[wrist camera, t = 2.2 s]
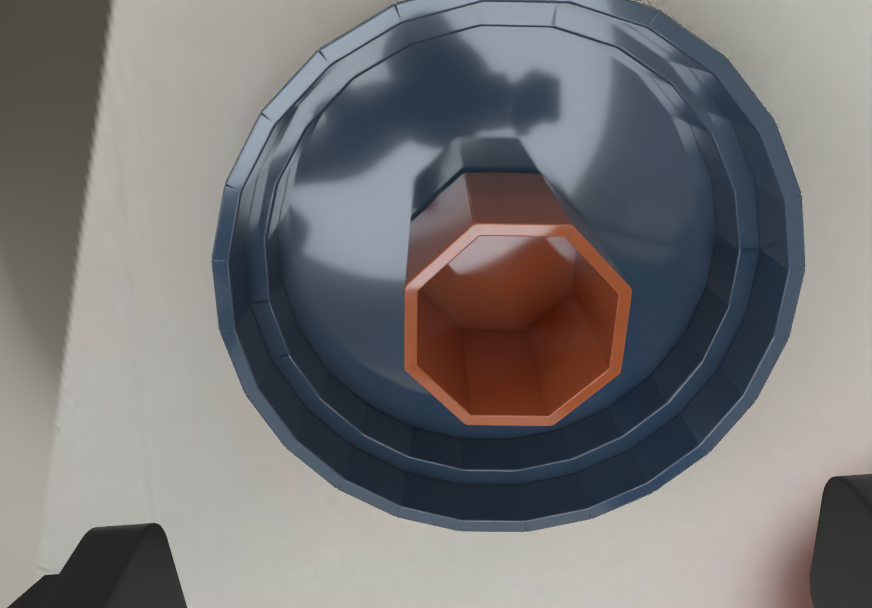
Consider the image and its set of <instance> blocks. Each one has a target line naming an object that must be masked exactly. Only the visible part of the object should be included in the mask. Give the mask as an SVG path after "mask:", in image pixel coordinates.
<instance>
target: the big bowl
mask: <svg viewBox="0 0 872 608" xmlns="http://www.w3.org/2000/svg"><path fill="white" fill-rule="evenodd" d="M465 172H476V173H489V172H510V173H533V174H541V175H543V177H544V178H545V179H546V180H547V181H548V182H549V183H550V184H551V185H552V186H553V188H554V189H555V190H556V191H557V192H558V193H559V194H560V195H561V196H562V197H563V198H564V200H565V201H566V202H567V203H568V204H569V205H570V206H571V207H572V208H573V209H574V210H575V212H576V213H577V214H578V215H579V216H580V217H581V218H582V219H583V220H584V221H585V223H586V224H587V225H588V226H589V227H590V229H591V230H592V232H593V233H594V235H595V236H596V238H597V239H598V240H599V242H600V243H601V245H602V246H603V248H604V249H605V251H606V252H607V254H608V255H609V256H610V258H611V259H612V261H613V262H614V264H615V265H616V267H617V268H618V270H619V271H620V272H621V274H622V275H623V277H624V278H625V280H626V281H627V283H628V284H629V286H630V287H631V289H632V296H631V303H630V310H629V318H628V325H627V332H626V340H625V347H624V354H623V362H622V369H621V372H620V374H619V375H618V376H616V377H615V378H614V379H612V380H611V381H610V382H609V383H607V384H606V385H605V386H603V387H602V388H601V389H600V390H598V391H597V392H596V393H594V394H593V395H592V396H591V397H589V398H588V399H587V400H585V401H584V402H583V403H582V404H580V405H579V406H578V407H576V408H575V409H574V410H573V411H571V412H570V413H569V414H567V415H566V416H565V417H564V418H562V419H561V420H560V421H558V422H557V423H556V424H555V425H552V426H503V425H466V424H464V423H463V422H462V421H461V420H460V419H459V418H458V417H456V416H455V415H454V414H453V413H452V412H451V411H450V410H449V409H447V408H446V407H445V406H444V405H443V404H442V403H441V402H440V401H439V400H437V399H436V398H435V397H434V396H433V395H432V394H431V393H430V392H429V391H427V390H426V389H425V388H424V387H423V386H422V385H421V384H420V383H419V382H417V381H416V380H415V379H414V378H413V377H412V376H411V375H410V374H409V373H407V372H406V371H405V369H404V286H405V275H406V263H407V252H408V240H409V229H410V223H411V222H412V221H413V220H414V219H415V218H416V217H417V216H418V215H420V214H421V213H422V212H423V211H424V210H425V209H426V208H427V207H428V206H429V205H430V204H431V203H432V202H433V201H434V200H435V199H436V198H437V196H439V195H440V194H441V193H442V192H443V191H445V190H446V189H447V188H448V187H449V186H450V185H451V184H452V183H454V182H455V181H456V180H457V179H458V178H459V177H460V176H461V175H462V174H463V173H465ZM800 194H801V191H800V188H799V186H798V183H797V180H796V177H795V174H794V172H793V169H792V166H791V163H790V160H789V158H788V155H787V152H786V149H785V146H784V144H783V141H782V138H781V135H780V132H779V130H778V127H777V124H776V123H775V121H774V119H773V118H772V116H771V115H770V114H769V112H768V111H767V110H766V108H765V107H764V106H763V104H762V103H761V102H760V100H759V99H758V98H757V96H756V95H755V94H754V93H753V91H752V90H751V89H750V87H749V86H748V85H747V83H746V82H745V81H744V79H743V78H742V77H741V75H740V74H739V73H738V71H737V70H736V69H735V68H734V66H733V65H732V64H731V62H730V61H729V60H728V59H726V57H725V56H724V55H723V54H721V53H720V52H718V51H717V50H716V49H714V48H713V47H711V46H710V45H708V44H707V43H706V42H704V41H703V40H701V39H700V38H698V37H697V36H696V35H694V34H693V33H691V32H690V31H689V30H687V29H686V28H684V27H683V26H681V25H680V24H679V23H677V22H676V21H674V20H673V19H672V18H670V17H669V16H667V15H666V14H664V13H663V12H662V11H660V10H657V9H656V8H654V7H651V6H648V5H645V4H642V3H638V2H635V1H632V0H404V1H401V2H397V3H396V4H392V5H391V6H389V7H387V8H386V9H384V10H382V11H381V12H379V13H377V14H376V15H374V16H372V17H371V18H369V19H367V20H366V21H364V22H362V23H361V24H359V25H358V26H356V27H354V28H353V29H351V30H349V31H348V32H346V33H344V34H343V35H341V36H339V37H338V38H336V39H334V40H333V41H331V42H329V43H328V44H326V45H324V46H323V47H321V48H320V49H319V50H317V51H316V52H315V53H314V54H313V55H312V56H311V58H310V59H309V60H308V61H307V62H306V63H305V64H304V65H303V66H302V67H301V68H300V69H299V71H298V72H297V73H296V74H295V75H294V76H293V77H292V78H291V79H290V80H289V81H288V83H287V84H286V85H285V86H284V87H283V88H282V89H281V90H280V91H279V92H278V93H277V94H276V96H275V97H274V98H273V99H272V100H271V101H270V102H269V103H268V104H267V105H266V106H265V107H264V109H263V110H262V111H261V113H260V114H259V116H258V118H257V120H256V122H255V124H254V126H253V128H252V130H251V132H250V134H249V136H248V138H247V140H246V142H245V144H244V146H243V148H242V150H241V152H240V154H239V156H238V158H237V160H236V162H235V164H234V166H233V168H232V170H231V172H230V174H229V176H228V178H227V180H226V183H225V186H224V190H223V196H222V201H221V207H220V213H219V218H218V224H217V230H216V235H215V241H214V247H213V252H212V260H211V261H212V270H213V279H214V288H215V298H216V307H217V316H218V325H219V330H220V333H221V336H222V338H223V341H224V343H225V346H226V348H227V351H228V353H229V356H230V358H231V361H232V363H233V366H234V368H235V370H236V373H237V375H238V378H239V380H240V383H241V385H242V388H243V390H244V393H246V396H247V397H248V399H249V400H250V401H251V403H252V404H253V405H254V407H255V408H256V409H257V411H258V412H259V413H260V415H261V416H262V417H263V419H264V420H265V421H266V423H267V424H268V425H269V427H270V428H271V429H272V430H273V432H274V433H275V434H276V436H277V437H278V438H279V440H280V441H281V442H282V444H283V445H284V446H285V447H286V448H287V449H288V450H289V451H290V452H292V453H293V454H294V455H295V456H297V457H298V458H299V459H300V460H302V461H303V462H304V463H305V464H307V465H308V466H309V467H310V468H312V469H313V470H314V471H315V472H317V473H318V474H319V475H320V476H322V477H323V478H324V479H325V480H327V481H328V482H329V483H330V484H332V485H333V486H334V487H335V488H338V490H341V491H343V492H345V493H347V494H349V495H351V496H353V497H355V498H357V499H360V500H362V501H364V502H366V503H368V504H370V505H372V506H374V507H376V508H379V509H381V510H383V511H385V512H387V513H389V514H391V515H393V516H397V517H399V518H403V519H408V520H412V521H417V522H421V523H426V524H430V525H434V526H439V527H443V528H448V529H452V530H457V531H460V530H461V531H485V532H525V531H527V532H528V531H533V530H538V529H543V528H548V527H553V526H558V525H563V524H568V523H573V522H578V521H583V520H588V519H591V518H595V517H597V516H600V515H602V514H604V513H607V512H609V511H611V510H614V509H616V508H618V507H621V506H623V505H625V504H628V503H630V502H632V501H635V500H637V499H639V498H642V497H644V496H646V495H649V494H651V493H653V491H656V490H658V489H659V488H660V487H662V486H663V485H665V484H666V483H667V482H669V481H670V480H672V479H673V478H674V477H676V476H677V475H679V474H680V473H681V472H683V471H684V470H686V469H687V468H689V467H690V466H691V465H693V464H694V463H696V462H697V461H698V460H700V459H701V458H703V457H704V456H705V455H707V454H708V453H709V452H710V451H711V450H712V449H713V448H714V447H715V446H716V445H717V444H718V442H719V441H720V440H721V439H722V438H723V437H724V436H725V435H726V433H727V432H728V431H729V430H730V429H731V428H732V427H733V426H734V425H735V423H736V422H737V421H738V420H739V419H740V418H741V417H742V416H743V414H744V413H745V412H746V411H747V410H748V409H749V408H750V407H751V405H752V404H753V403H754V402H755V400H756V399H757V397H758V395H759V394H760V392H761V390H762V388H763V386H764V384H765V382H766V380H767V379H768V377H769V375H770V373H771V371H772V369H773V367H774V365H775V363H776V362H777V360H778V358H779V356H780V354H781V352H782V350H783V348H784V347H785V345H786V343H787V341H788V338H789V336H790V332H791V328H792V323H793V319H794V315H795V311H796V306H797V302H798V298H799V294H800V289H801V285H802V281H803V277H804V272H805V254H804V234H803V213H802V196H801V195H800Z"/></svg>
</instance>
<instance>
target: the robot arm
mask: <svg viewBox="0 0 872 608" xmlns="http://www.w3.org/2000/svg"><path fill="white" fill-rule="evenodd" d="M810 591H811V597H812V602H813V606H814V608H872V474H865V475H851V476H837V477H832V478H831V479H829V480H828V482H827V483H826V485H825V487H824V491H823V496H822V502H821V509H820V515H819V521H818V528H817V534H816V540H815V547H814V553H813V559H812V566H811V572H810ZM7 608H187V606H186V602H185V599H184V595H183V592H182V588H181V585H180V581H179V578H178V575H177V571H176V568H175V564H174V561H173V557H172V554H171V550H170V547H169V543H168V540H167V537H166V534H165V532H164V530H163V528H162V527H161V526H160V525H159V524H156V523H148V524H134V525H120V526H106V527H95V528H92V529H91V530H89V531H88V532H87V533H86V534H85V535H84V537H83V538H82V539H81V541H80V543H79V544H78V546H77V547H76V549H75V550H74V552H73V553H72V555H71V557H70V558H69V560H68V561H67V563H66V564H65V566H64V568H63V569H62V571H61V572H60V574H55V575H44V576H43V577H42V578H41V579H40V580H39V581H37V582H36V583H35V584H34V585H33V586H32V587H30V589H28V590H27V591H26V592H25V593H24V594H22V595H21V596H20V597H19V598H18V599H17V600H16V601H14V602H13V603H12V604H11V605H10V606H9V607H7Z"/></svg>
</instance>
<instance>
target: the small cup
mask: <svg viewBox="0 0 872 608" xmlns="http://www.w3.org/2000/svg"><path fill="white" fill-rule="evenodd" d="M631 296H632V289H631V287H630V286H629V284H628V283H627V281H626V280H625V278H624V277H623V275H622V274H621V272H620V271H619V270H618V268H617V267H616V265H615V264H614V262H613V261H612V259H611V258H610V256H609V255H608V254H607V252H606V251H605V249H604V248H603V246H602V245H601V243H600V242H599V240H598V239H597V238H596V236H595V235H594V233H593V232H592V230H591V229H590V227H589V226H588V225H587V224H586V223H585V221H584V220H583V219H582V218H581V217H580V216H579V215H578V214H577V213H576V212H575V210H574V209H573V208H572V207H571V206H570V205H569V204H568V203H567V202H566V201H565V200H564V198H563V197H562V196H561V195H560V194H559V193H558V192H557V191H556V190H555V189H554V188H553V186H552V185H551V184H550V183H549V182H548V181H547V180H546V179H545V178H544V177H543V175H541V174H533V173H510V172H489V173H476V172H465V173H463V174H462V175H461V176H460V177H459V178H458V179H457V180H456V181H455V182H454V183H452V184H451V185H450V186H449V187H448V188H447V189H446V190H445V191H443V192H442V193H441V194H440V195H439V196H437V198H436V199H435V200H434V201H433V202H432V203H431V204H430V205H429V206H428V207H427V208H426V209H425V210H424V211H423V212H422V213H421V214H420V215H418V216H417V217H416V218H415V219H414V220H413V221H412V222H411V223H410V229H409V240H408V252H407V263H406V275H405V286H404V369H405V371H406V372H407V373H409V374H410V375H411V376H412V377H413V378H414V379H415V380H416V381H417V382H419V383H420V384H421V385H422V386H423V387H424V388H425V389H426V390H427V391H429V392H430V393H431V394H432V395H433V396H434V397H435V398H436V399H437V400H439V401H440V402H441V403H442V404H443V405H444V406H445V407H446V408H447V409H449V410H450V411H451V412H452V413H453V414H454V415H455V416H456V417H458V418H459V419H460V420H461V421H462V422H463V423H464V424H466V425H503V426H552V425H555V424H556V423H557V422H558V421H560V420H561V419H562V418H564V417H565V416H566V415H567V414H569V413H570V412H571V411H573V410H574V409H575V408H576V407H578V406H579V405H580V404H582V403H583V402H584V401H585V400H587V399H588V398H589V397H591V396H592V395H593V394H594V393H596V392H597V391H598V390H600V389H601V388H602V387H603V386H605V385H606V384H607V383H609V382H610V381H611V380H612V379H614V378H615V377H616V376H618V375H619V374H620V372H621V369H622V362H623V354H624V347H625V340H626V332H627V325H628V318H629V310H630V303H631Z"/></svg>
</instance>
